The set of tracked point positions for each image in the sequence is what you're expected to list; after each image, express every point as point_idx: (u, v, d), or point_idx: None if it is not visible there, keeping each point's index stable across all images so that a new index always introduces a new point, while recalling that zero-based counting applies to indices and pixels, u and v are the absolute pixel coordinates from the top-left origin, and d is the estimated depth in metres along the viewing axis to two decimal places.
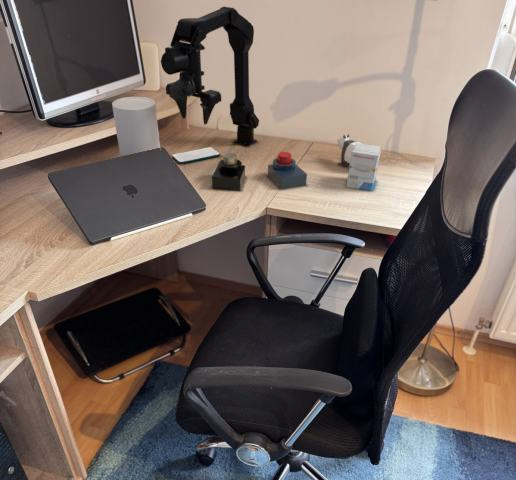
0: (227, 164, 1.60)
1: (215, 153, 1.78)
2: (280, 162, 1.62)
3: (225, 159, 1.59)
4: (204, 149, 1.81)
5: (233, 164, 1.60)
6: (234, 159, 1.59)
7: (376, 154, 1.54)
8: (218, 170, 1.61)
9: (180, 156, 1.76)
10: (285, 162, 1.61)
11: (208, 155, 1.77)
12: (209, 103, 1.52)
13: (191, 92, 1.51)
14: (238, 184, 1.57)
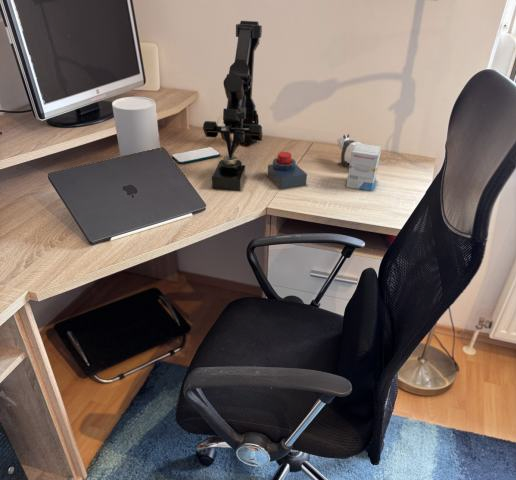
0: None
1: (215, 153, 1.78)
2: (280, 162, 1.62)
3: (225, 161, 1.59)
4: (204, 149, 1.81)
5: None
6: (234, 161, 1.59)
7: (376, 154, 1.54)
8: (218, 170, 1.61)
9: (180, 156, 1.76)
10: (285, 162, 1.61)
11: (208, 155, 1.77)
12: (259, 130, 1.57)
13: (245, 116, 1.55)
14: (238, 184, 1.57)
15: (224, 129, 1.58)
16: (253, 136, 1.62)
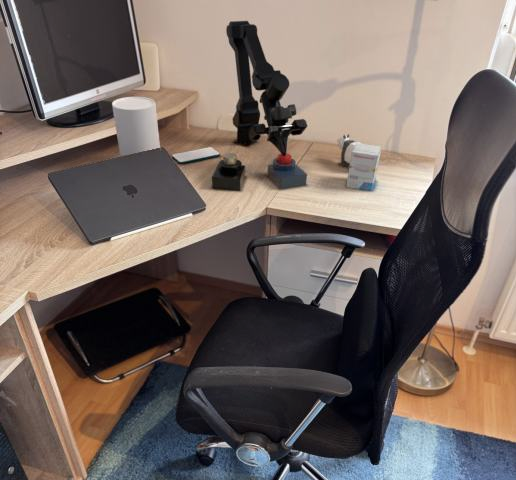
0: (227, 164, 1.60)
1: (215, 153, 1.78)
2: None
3: (225, 159, 1.59)
4: (204, 149, 1.81)
5: (233, 164, 1.60)
6: (234, 159, 1.59)
7: (376, 154, 1.54)
8: (218, 170, 1.61)
9: (180, 156, 1.76)
10: (285, 164, 1.62)
11: (208, 155, 1.77)
12: (306, 124, 1.62)
13: None
14: (238, 184, 1.57)
15: (273, 129, 1.59)
16: (293, 131, 1.66)
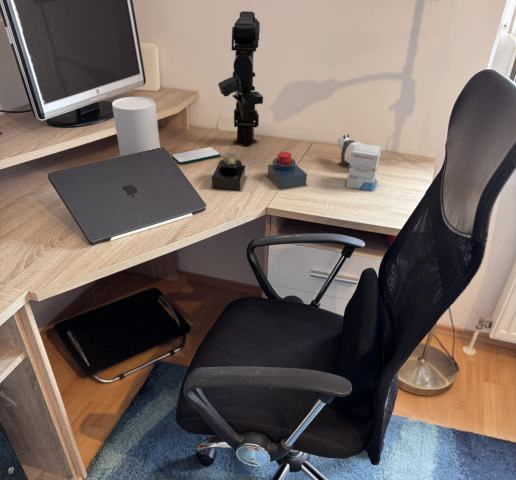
0: (227, 164, 1.60)
1: (215, 153, 1.78)
2: (280, 162, 1.62)
3: (225, 159, 1.59)
4: (204, 149, 1.81)
5: (233, 164, 1.60)
6: (234, 159, 1.59)
7: (376, 154, 1.54)
8: (218, 170, 1.61)
9: (180, 156, 1.76)
10: (285, 162, 1.61)
11: (208, 155, 1.77)
12: (246, 103, 1.59)
13: (233, 90, 1.59)
14: (238, 184, 1.57)
15: (235, 93, 1.67)
16: None
